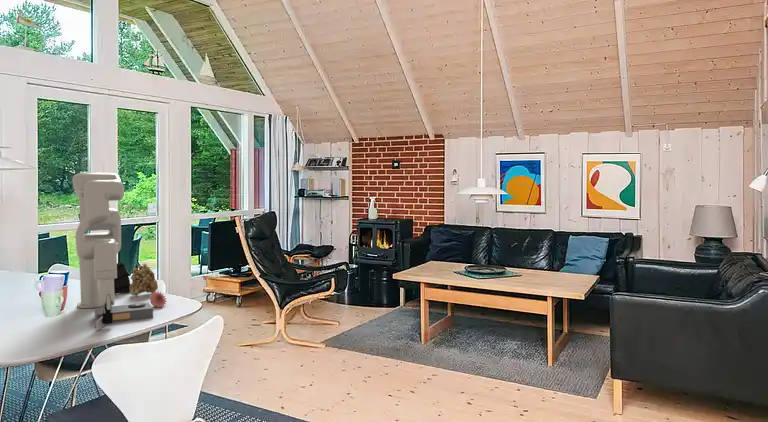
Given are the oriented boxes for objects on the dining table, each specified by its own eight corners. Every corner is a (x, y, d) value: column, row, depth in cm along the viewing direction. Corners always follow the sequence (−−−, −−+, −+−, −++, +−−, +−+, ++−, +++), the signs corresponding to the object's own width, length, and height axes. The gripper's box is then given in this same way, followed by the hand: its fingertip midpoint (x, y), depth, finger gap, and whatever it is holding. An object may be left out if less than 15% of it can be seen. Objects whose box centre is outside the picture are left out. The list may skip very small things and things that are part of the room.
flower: (146, 292, 246) (152, 286, 243) (163, 297, 251) (170, 291, 248) (144, 308, 241) (150, 302, 239) (162, 312, 246) (168, 307, 243)
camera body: (94, 317, 225) (94, 306, 225) (148, 311, 236) (148, 300, 235) (97, 324, 215) (96, 313, 215) (153, 317, 225) (152, 306, 225)
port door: (108, 323, 216) (107, 313, 216) (99, 331, 206) (98, 320, 205) (103, 323, 216) (103, 313, 216) (94, 331, 205) (94, 320, 205)
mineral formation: (126, 295, 267) (125, 264, 266) (154, 291, 277) (153, 261, 276) (134, 298, 262) (132, 266, 261) (162, 293, 271) (161, 262, 270)
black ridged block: (138, 288, 277) (122, 261, 272) (111, 302, 270) (95, 276, 266) (136, 286, 280) (121, 261, 275) (110, 301, 273) (94, 275, 269)
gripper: (92, 272, 214) (94, 320, 215) (96, 278, 201) (98, 329, 202) (114, 271, 218) (116, 318, 219) (119, 276, 205) (121, 326, 206)
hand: (107, 323), depth 211 cm, fingers closed
